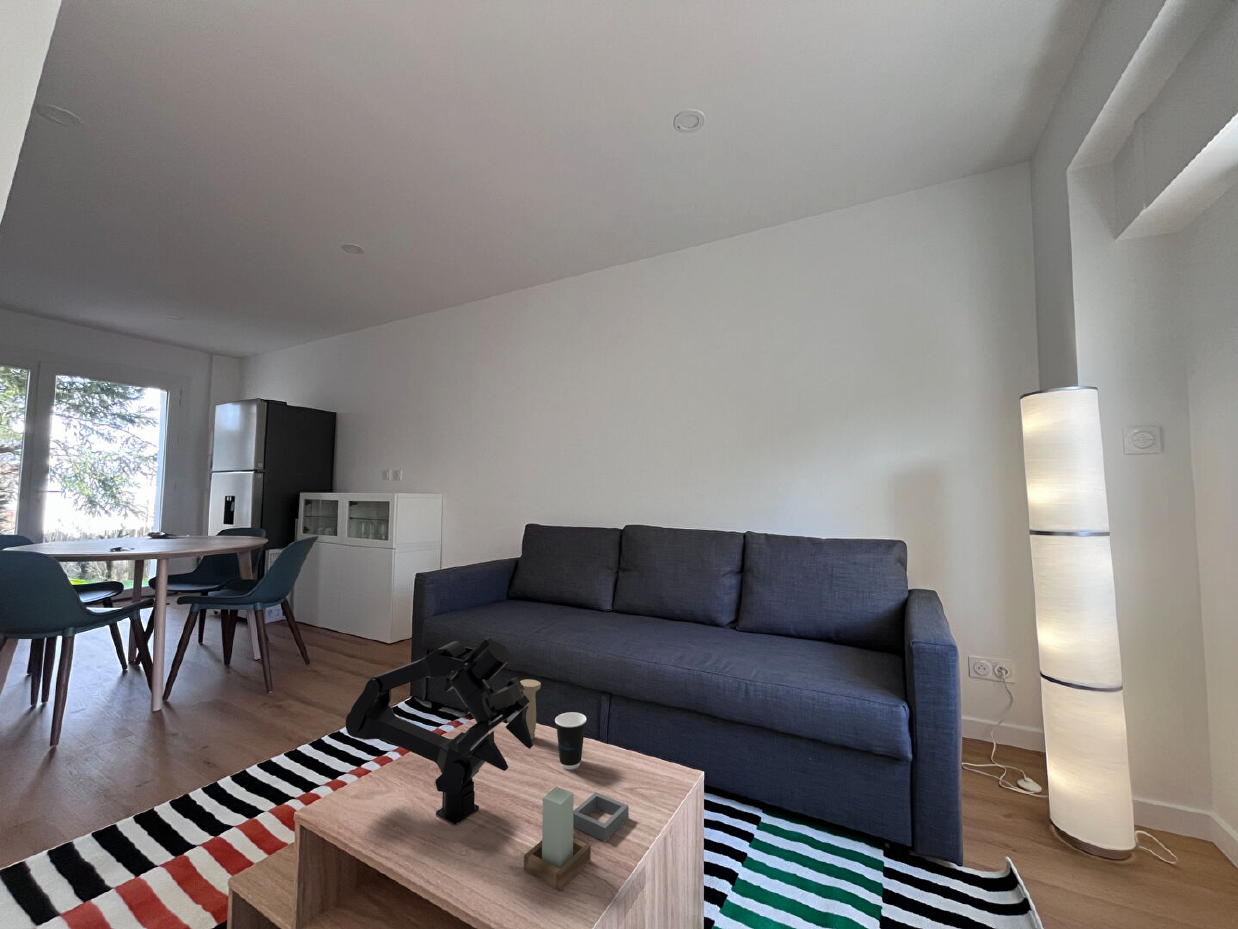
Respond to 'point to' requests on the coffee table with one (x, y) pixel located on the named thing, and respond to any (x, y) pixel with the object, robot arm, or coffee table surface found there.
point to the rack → (552, 873)
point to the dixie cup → (570, 738)
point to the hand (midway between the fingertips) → (519, 758)
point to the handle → (531, 703)
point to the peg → (557, 827)
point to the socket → (596, 827)
